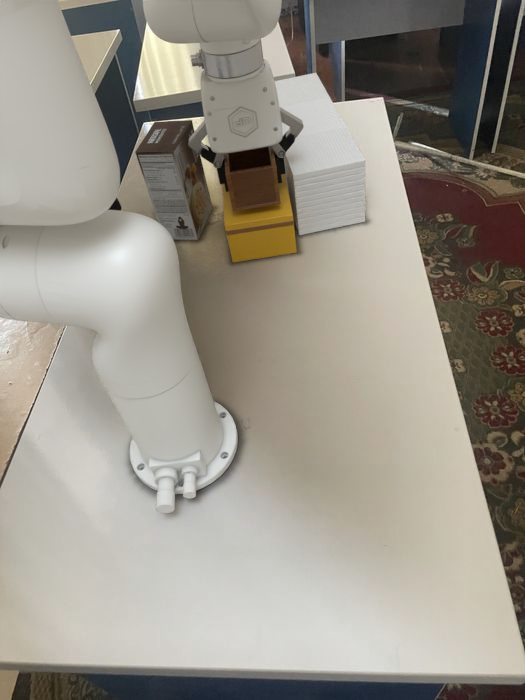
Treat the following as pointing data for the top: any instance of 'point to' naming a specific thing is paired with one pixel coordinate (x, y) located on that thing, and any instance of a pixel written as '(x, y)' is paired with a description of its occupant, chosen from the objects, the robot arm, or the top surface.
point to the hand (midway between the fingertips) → (253, 181)
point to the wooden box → (252, 178)
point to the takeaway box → (260, 228)
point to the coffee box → (175, 179)
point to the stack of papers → (321, 159)
